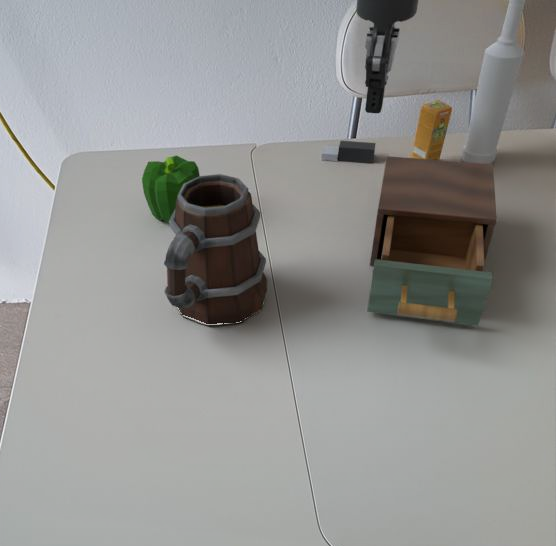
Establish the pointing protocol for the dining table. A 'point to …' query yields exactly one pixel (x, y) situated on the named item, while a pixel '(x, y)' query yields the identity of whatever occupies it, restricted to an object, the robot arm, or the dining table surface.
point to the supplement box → (431, 130)
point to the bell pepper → (166, 184)
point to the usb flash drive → (350, 152)
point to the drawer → (431, 271)
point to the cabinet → (436, 195)
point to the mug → (215, 252)
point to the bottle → (494, 90)
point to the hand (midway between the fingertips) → (373, 110)
